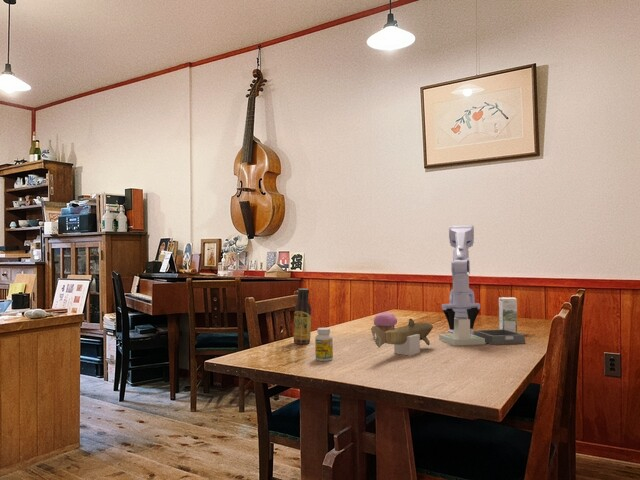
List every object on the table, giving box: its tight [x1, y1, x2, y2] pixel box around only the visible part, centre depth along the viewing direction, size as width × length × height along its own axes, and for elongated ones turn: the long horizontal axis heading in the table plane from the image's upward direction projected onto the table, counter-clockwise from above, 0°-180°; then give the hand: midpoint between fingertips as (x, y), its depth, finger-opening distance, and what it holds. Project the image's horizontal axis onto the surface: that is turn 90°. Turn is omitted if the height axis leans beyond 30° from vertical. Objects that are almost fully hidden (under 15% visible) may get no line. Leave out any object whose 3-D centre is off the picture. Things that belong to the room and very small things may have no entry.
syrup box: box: [498, 296, 518, 333], centre depth 199 cm, size 6×6×14 cm
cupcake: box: [373, 311, 398, 332], centre depth 189 cm, size 9×9×10 cm
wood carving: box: [370, 318, 434, 357], centre depth 160 cm, size 9×35×11 cm, turn 138°
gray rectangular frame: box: [473, 328, 526, 346], centre depth 182 cm, size 14×13×3 cm
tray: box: [438, 333, 486, 347], centre depth 180 cm, size 12×12×2 cm
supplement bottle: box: [314, 327, 334, 362], centre depth 152 cm, size 5×5×10 cm
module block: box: [452, 316, 470, 339], centre depth 180 cm, size 4×4×9 cm
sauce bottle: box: [292, 288, 312, 345], centre depth 179 cm, size 7×6×20 cm
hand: (461, 328), depth 180 cm, fingers open, 7 cm apart
